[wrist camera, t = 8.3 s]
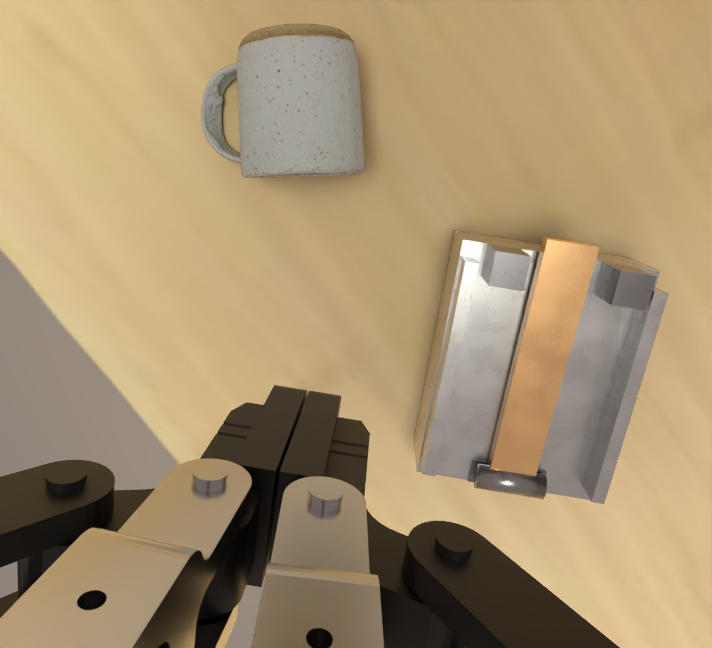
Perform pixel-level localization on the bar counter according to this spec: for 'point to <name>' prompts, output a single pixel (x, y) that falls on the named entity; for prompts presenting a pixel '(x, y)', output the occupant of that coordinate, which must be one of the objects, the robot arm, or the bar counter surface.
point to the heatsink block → (496, 352)
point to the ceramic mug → (292, 103)
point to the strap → (538, 368)
